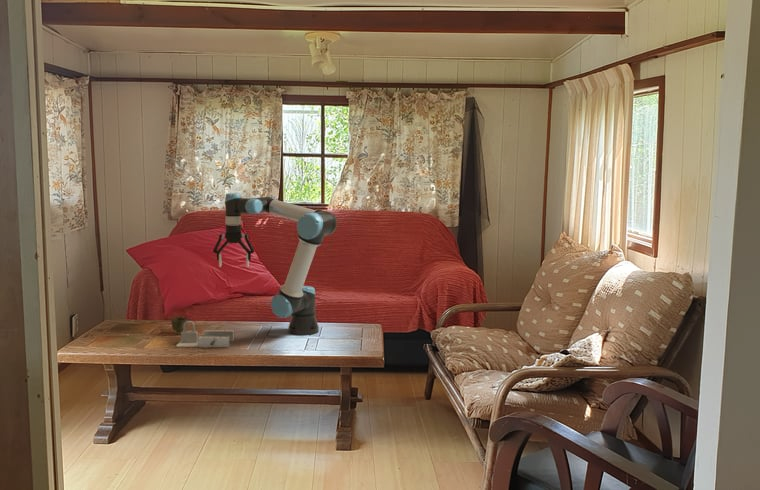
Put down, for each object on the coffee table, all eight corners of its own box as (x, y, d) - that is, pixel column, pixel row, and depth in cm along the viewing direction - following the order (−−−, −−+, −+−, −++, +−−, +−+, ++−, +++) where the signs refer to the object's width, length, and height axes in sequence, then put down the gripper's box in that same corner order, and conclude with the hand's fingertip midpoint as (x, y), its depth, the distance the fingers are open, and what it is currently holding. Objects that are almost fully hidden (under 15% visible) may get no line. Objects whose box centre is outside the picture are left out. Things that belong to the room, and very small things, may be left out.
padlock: (180, 343, 319) (180, 322, 317) (182, 340, 323) (182, 319, 321) (196, 343, 319) (195, 322, 318) (198, 340, 323) (197, 320, 322)
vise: (234, 339, 329) (233, 330, 328) (227, 349, 312) (227, 339, 311) (204, 339, 328) (204, 329, 327) (196, 349, 311) (196, 339, 311)
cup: (190, 333, 338) (190, 317, 337) (180, 336, 332) (180, 320, 330) (178, 331, 341) (178, 315, 340) (168, 334, 335) (168, 318, 334)
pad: (201, 339, 327) (201, 338, 327) (196, 346, 315) (196, 345, 315) (182, 339, 327) (182, 338, 327) (176, 346, 315) (176, 345, 315)
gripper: (259, 223, 345) (260, 265, 348) (209, 223, 344) (210, 265, 347) (257, 225, 338) (258, 268, 341) (206, 225, 337) (207, 267, 340)
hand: (234, 266), depth 344 cm, fingers open, 13 cm apart
